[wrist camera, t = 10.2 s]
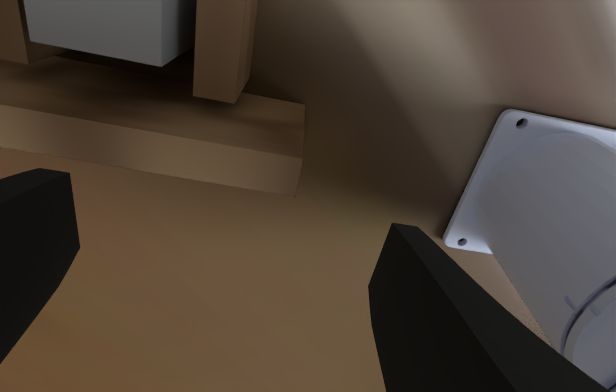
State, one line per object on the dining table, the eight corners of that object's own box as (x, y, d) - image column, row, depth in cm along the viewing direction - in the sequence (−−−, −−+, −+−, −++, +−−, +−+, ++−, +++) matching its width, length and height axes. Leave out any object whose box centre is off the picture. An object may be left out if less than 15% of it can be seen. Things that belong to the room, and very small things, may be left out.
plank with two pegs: (327, -9, 15) (336, 2, 10) (299, 134, 19) (295, 197, 13) (-41, -91, 14) (-242, -126, 9) (-5, 77, 17) (-139, 123, 12)
